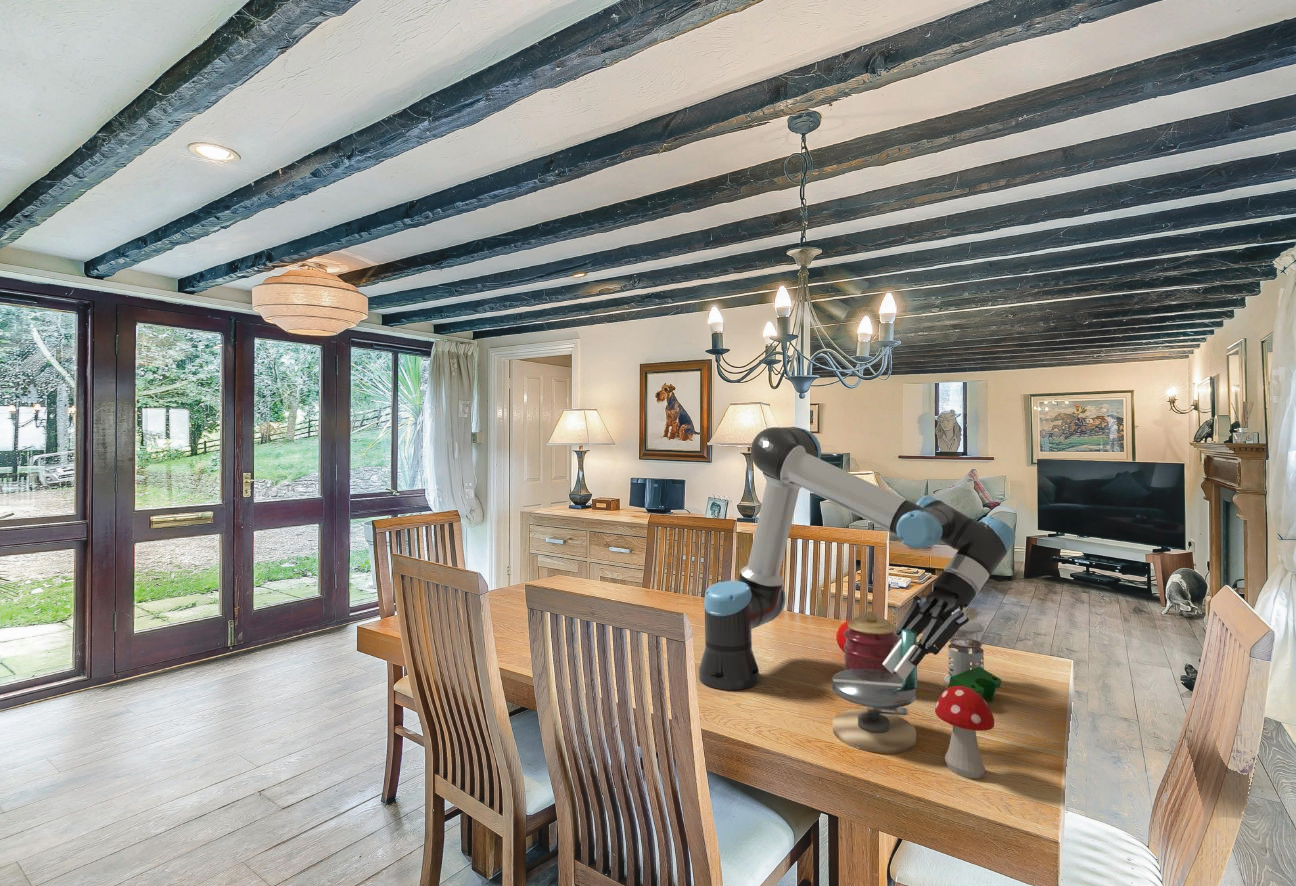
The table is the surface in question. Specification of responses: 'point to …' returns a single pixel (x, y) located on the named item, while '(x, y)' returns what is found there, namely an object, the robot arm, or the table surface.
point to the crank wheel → (879, 686)
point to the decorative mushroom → (964, 729)
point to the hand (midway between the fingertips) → (893, 671)
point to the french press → (965, 651)
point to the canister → (869, 642)
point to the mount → (874, 732)
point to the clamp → (977, 682)
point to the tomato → (842, 635)
